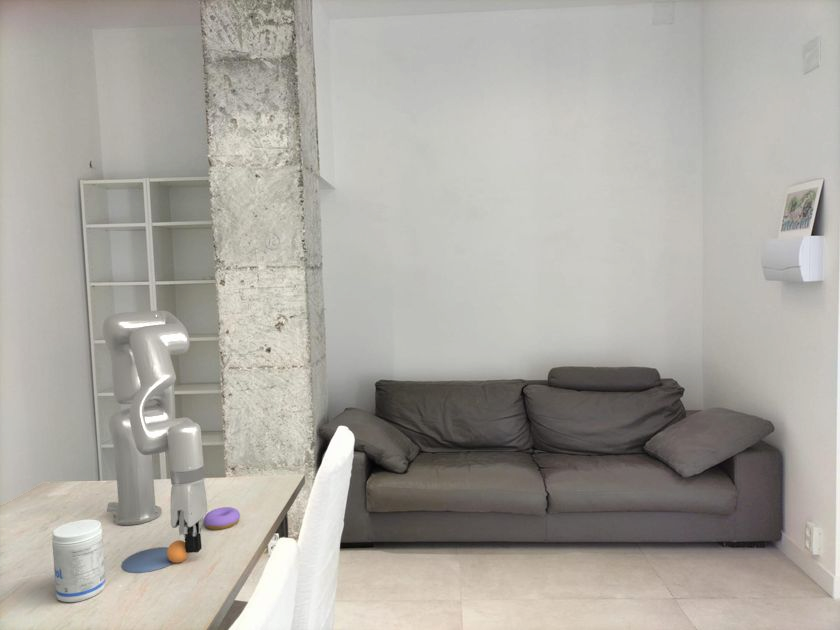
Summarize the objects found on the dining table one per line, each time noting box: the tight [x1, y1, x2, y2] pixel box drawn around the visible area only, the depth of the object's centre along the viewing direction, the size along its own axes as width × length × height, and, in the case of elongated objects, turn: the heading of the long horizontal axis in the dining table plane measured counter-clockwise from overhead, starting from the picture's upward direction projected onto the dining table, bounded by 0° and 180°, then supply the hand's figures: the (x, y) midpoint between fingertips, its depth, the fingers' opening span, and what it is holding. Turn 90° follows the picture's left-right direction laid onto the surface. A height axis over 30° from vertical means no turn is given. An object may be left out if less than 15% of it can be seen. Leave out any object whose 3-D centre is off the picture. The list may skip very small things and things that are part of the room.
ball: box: [167, 540, 190, 564], centre depth 149 cm, size 5×5×5 cm
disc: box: [121, 546, 175, 574], centre depth 151 cm, size 13×13×1 cm
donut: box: [202, 506, 241, 531], centre depth 172 cm, size 10×9×5 cm
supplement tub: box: [51, 519, 106, 603], centre depth 136 cm, size 10×10×15 cm
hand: (193, 551), depth 149 cm, fingers closed
